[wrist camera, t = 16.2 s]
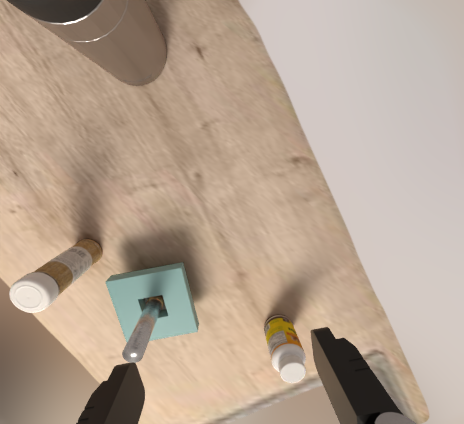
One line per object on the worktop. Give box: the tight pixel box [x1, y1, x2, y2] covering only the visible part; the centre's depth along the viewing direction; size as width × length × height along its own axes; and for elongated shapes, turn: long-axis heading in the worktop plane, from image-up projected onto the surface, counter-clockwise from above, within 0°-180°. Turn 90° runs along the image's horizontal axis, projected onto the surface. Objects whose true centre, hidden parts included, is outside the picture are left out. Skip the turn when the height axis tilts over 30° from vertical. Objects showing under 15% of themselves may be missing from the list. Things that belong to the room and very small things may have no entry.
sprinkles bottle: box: [10, 239, 102, 313], centre depth 34 cm, size 5×5×14 cm
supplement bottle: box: [264, 315, 306, 383], centre depth 41 cm, size 6×6×10 cm
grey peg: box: [122, 295, 166, 363], centre depth 36 cm, size 6×6×14 cm
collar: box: [106, 262, 199, 342], centre depth 39 cm, size 12×12×2 cm
